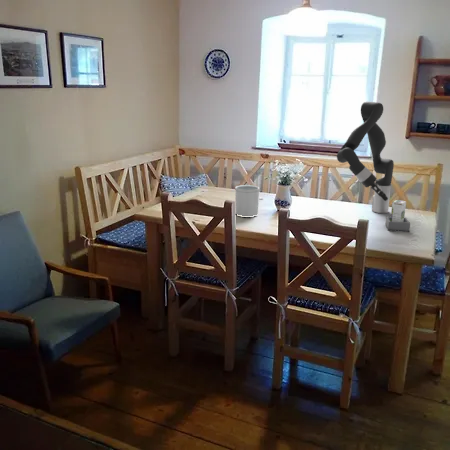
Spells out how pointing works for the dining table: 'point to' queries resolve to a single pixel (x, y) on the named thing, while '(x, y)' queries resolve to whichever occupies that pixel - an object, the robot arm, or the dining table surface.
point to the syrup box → (398, 211)
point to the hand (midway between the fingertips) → (385, 198)
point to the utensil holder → (247, 200)
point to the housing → (397, 225)
